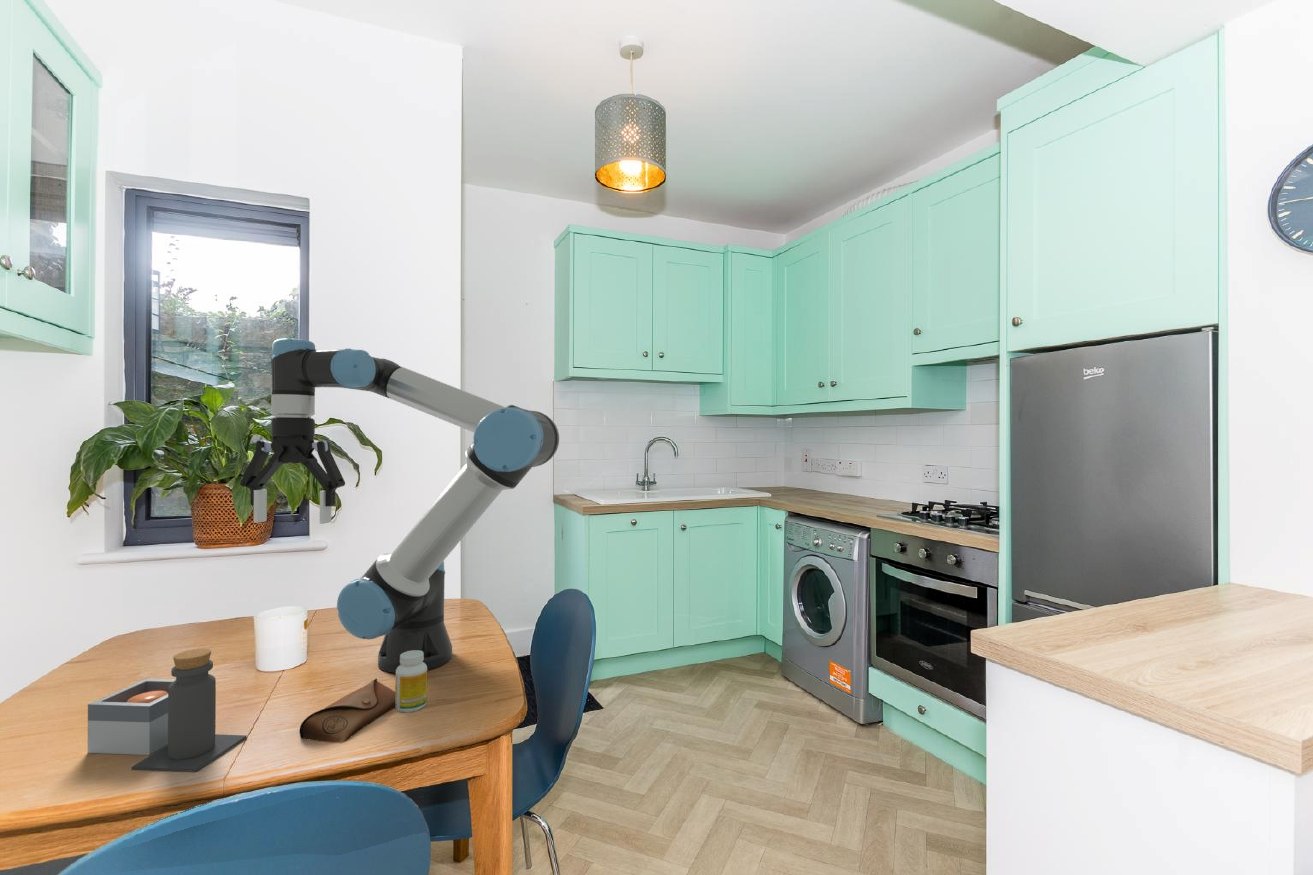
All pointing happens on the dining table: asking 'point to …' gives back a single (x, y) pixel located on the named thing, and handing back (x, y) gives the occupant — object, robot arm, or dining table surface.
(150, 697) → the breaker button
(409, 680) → the supplement bottle
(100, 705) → the grey open box
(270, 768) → the dining table surface
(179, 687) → the bottle
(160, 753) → the coaster
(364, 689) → the sunglasses case
